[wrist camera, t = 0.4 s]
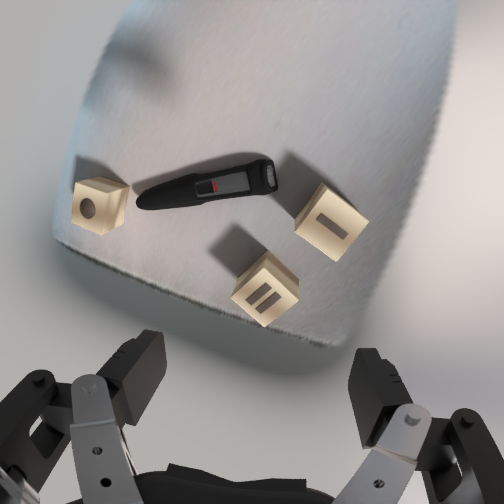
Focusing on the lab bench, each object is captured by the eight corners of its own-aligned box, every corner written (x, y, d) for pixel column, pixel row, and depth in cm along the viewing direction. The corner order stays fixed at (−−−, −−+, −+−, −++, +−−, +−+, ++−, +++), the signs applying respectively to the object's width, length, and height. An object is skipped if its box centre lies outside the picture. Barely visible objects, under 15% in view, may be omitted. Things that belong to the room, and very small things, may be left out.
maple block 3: (321, 182, 29) (327, 189, 24) (357, 210, 30) (369, 221, 25) (294, 219, 31) (295, 232, 26) (330, 245, 31) (336, 262, 27)
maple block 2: (268, 249, 33) (263, 268, 28) (298, 279, 33) (298, 301, 29) (238, 277, 34) (230, 298, 30) (268, 304, 35) (264, 327, 30)
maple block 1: (99, 176, 32) (74, 182, 27) (130, 186, 32) (106, 193, 27) (94, 212, 34) (70, 222, 29) (123, 223, 34) (100, 235, 29)
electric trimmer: (144, 183, 32) (131, 187, 29) (273, 157, 29) (270, 158, 26) (151, 213, 33) (138, 219, 30) (278, 191, 30) (276, 196, 27)
